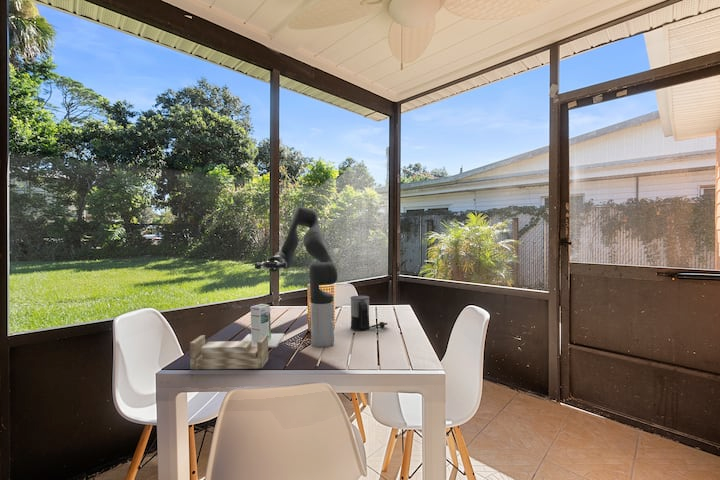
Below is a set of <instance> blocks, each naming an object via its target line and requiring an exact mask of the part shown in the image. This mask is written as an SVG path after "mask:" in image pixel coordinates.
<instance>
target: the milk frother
mask: <svg viewBox="0 0 720 480" xmlns="http://www.w3.org/2000/svg"><path fill="white" fill-rule="evenodd" d="M385 326H388V322H383V321H380V322H379V323H377V324H373V325H370V296H368V295H353V296H350V330H354V331H367V330H368V331H369V330H370V329H371V328H376V327H380V329H382V328H385Z"/></svg>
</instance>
